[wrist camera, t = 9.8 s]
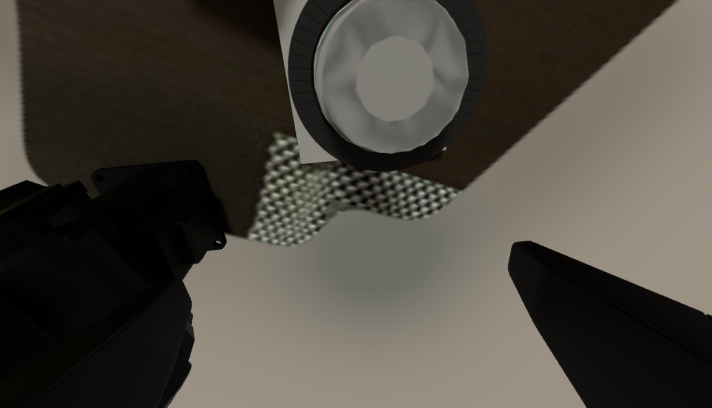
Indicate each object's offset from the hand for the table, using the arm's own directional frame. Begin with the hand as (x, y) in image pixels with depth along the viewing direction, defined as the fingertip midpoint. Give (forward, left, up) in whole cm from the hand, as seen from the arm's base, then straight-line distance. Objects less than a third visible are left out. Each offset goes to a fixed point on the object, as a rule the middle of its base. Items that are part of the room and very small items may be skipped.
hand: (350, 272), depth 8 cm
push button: (+2, +4, -11) cm, 12 cm away
